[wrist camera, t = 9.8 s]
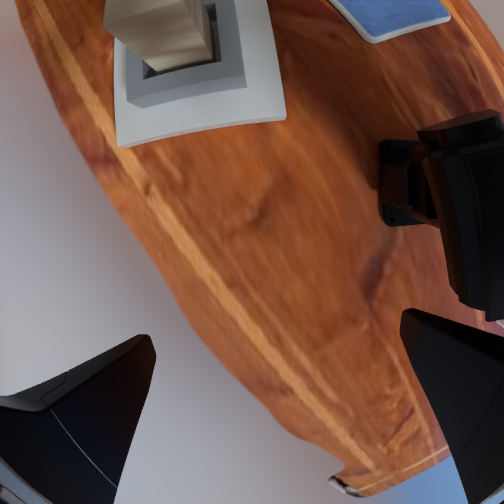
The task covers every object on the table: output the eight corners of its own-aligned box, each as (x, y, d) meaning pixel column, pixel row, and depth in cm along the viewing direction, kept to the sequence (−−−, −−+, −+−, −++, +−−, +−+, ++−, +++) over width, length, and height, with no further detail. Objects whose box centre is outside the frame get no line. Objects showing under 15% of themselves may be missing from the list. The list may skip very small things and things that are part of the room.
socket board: (263, -7, 15) (262, -34, 11) (284, 120, 18) (289, 107, 14) (123, 25, 16) (102, 6, 12) (126, 147, 19) (99, 144, 15)
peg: (213, 29, 15) (182, -47, 6) (217, 69, 16) (182, 0, 7) (165, 40, 15) (110, -22, 6) (166, 80, 16) (102, 27, 7)
